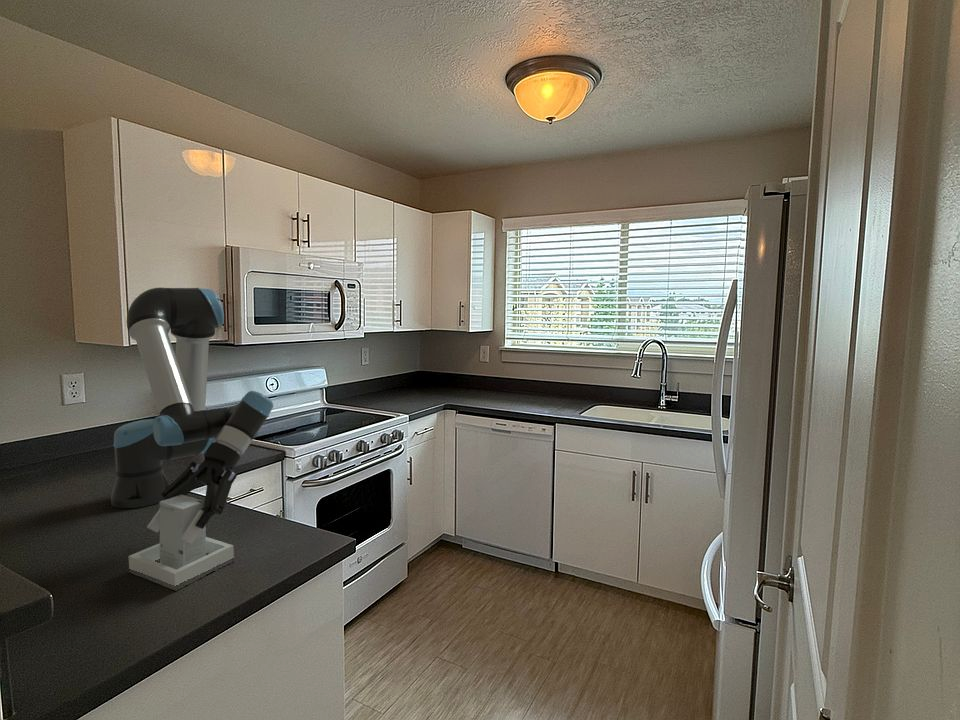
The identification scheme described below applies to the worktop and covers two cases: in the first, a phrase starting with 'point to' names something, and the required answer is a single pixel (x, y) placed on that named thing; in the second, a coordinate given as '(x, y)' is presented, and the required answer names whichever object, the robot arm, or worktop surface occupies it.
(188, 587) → the worktop surface
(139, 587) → the worktop surface
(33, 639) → the worktop surface
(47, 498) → the worktop surface
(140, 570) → the tray
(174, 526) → the skincare box
